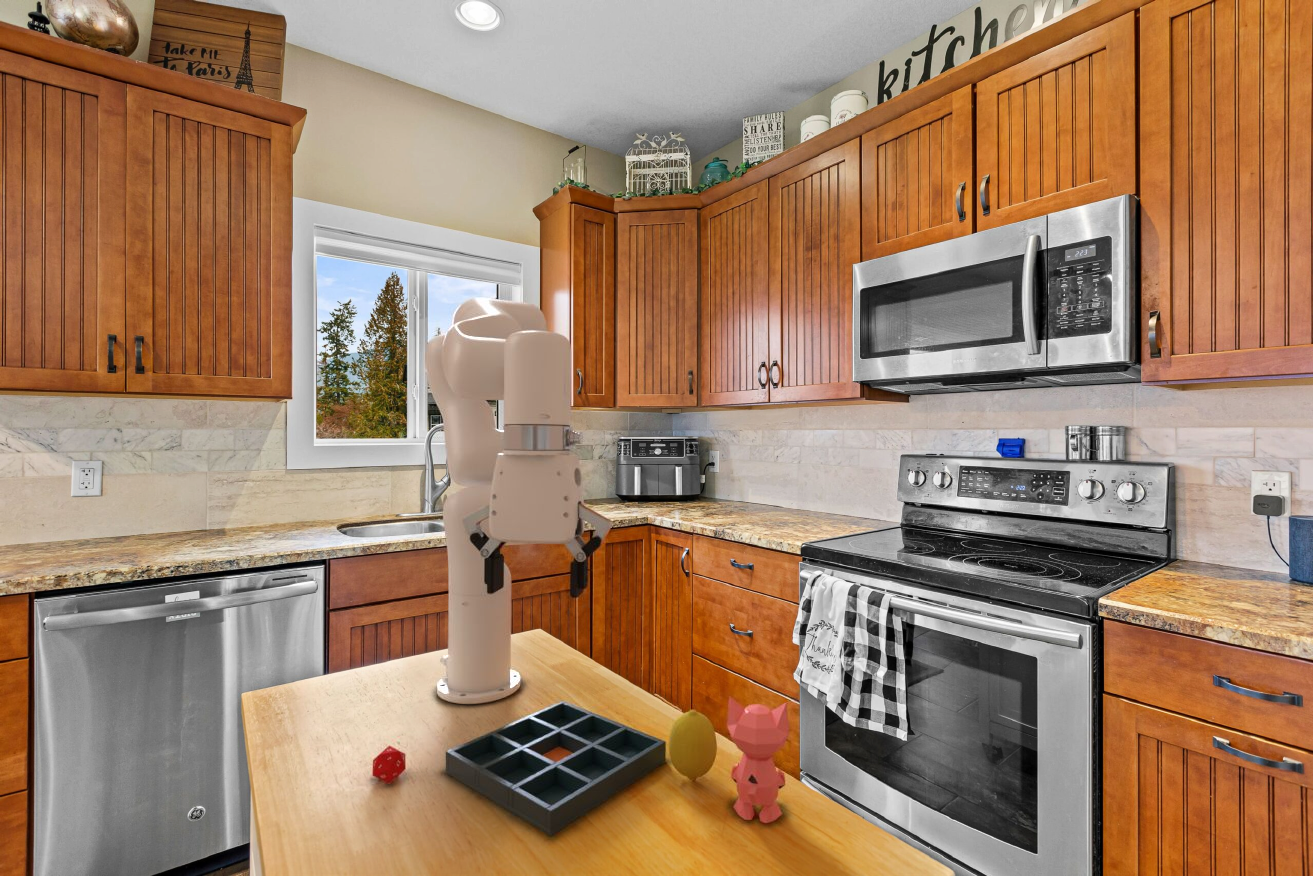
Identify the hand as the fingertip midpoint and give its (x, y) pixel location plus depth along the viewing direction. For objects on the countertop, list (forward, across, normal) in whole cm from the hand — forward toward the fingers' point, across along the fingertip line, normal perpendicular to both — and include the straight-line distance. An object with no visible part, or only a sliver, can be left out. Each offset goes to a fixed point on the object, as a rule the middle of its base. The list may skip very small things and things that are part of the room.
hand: (535, 593), depth 70 cm
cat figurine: (+22, -25, +2) cm, 33 cm away
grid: (+22, -2, -4) cm, 22 cm away
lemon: (+22, -18, -4) cm, 28 cm away
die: (+22, +17, +2) cm, 28 cm away
